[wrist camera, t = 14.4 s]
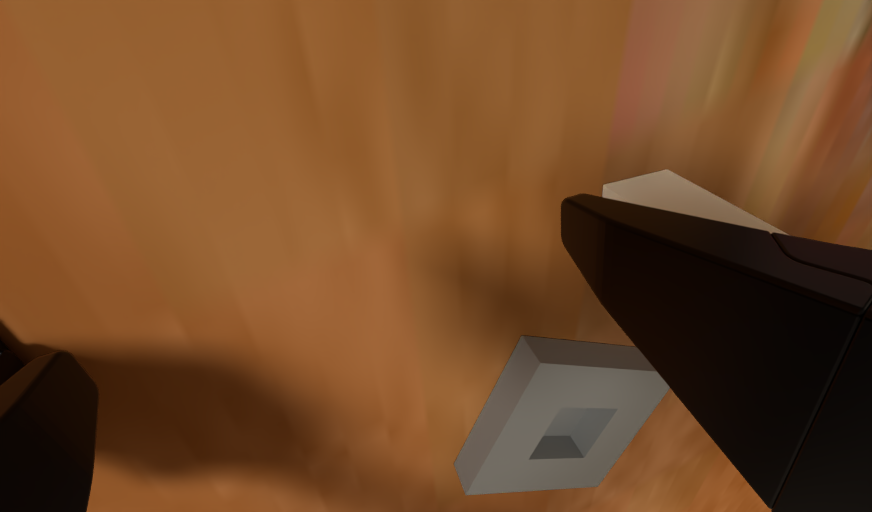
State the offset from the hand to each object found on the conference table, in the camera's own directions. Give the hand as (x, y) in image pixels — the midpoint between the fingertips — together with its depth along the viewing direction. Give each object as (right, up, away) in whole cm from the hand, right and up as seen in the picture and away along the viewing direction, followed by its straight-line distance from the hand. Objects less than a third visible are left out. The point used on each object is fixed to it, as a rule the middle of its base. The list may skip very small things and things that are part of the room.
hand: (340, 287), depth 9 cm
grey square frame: (+10, -10, +26) cm, 30 cm away
